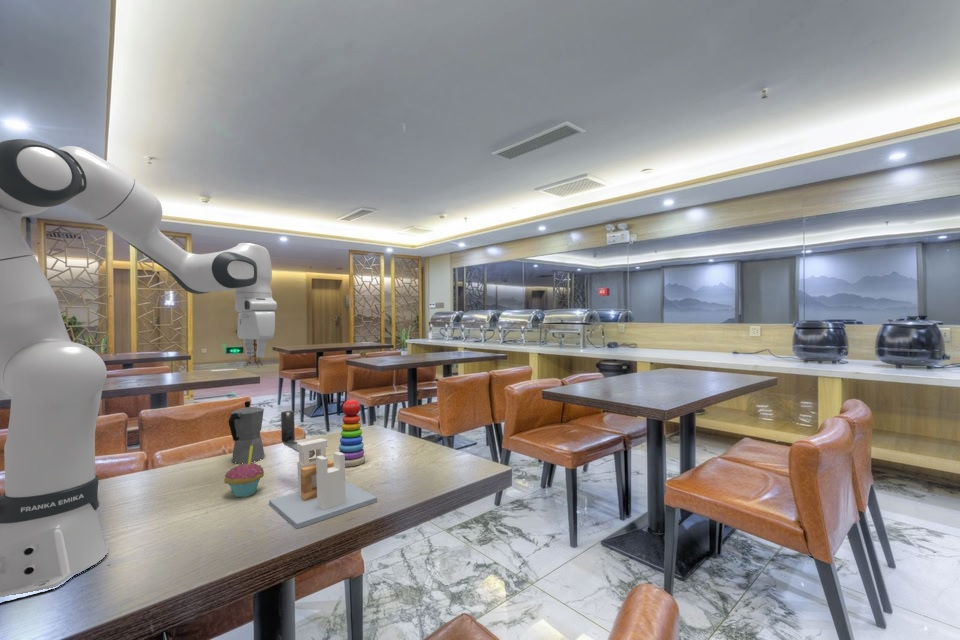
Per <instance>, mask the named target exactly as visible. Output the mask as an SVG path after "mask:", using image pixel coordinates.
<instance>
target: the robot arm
mask: <svg viewBox="0 0 960 640" xmlns="http://www.w3.org/2000/svg"><path fill="white" fill-rule="evenodd" d="M62 204H65V205H68V206H70V207H72V208H74V209H76V210H78V211H79V212H81V213H83V214H84V215H86V216H87V217H89V218H90V219H91V220H94V221H95V222H97V223H99V224H100V225H102V226H103V227H104V228H107V230H109V231H111V232H113V233H115V235H118V237H120V238H121V239H122V240H123V241H125V242H126V243H127V244H128V245H130V246H131V247H133V249H135V250H137V251H138V252H140V253H141V254H142V255H144V256H145V257H147V259H150V260H151V261H152V262H153V263H155V264H157V265H158V266H160V267H161V268H162V269H163V270H165V271H167V273H169V274H170V275H171V277H173V279H174V280H175V281H176V282H177V284H178V285H179V286H180V288H182V289H183V290H185V291H186V292H189V293H191V294H193V295H194V294H195V295H203V294H208V293H214V292H222V291H223V292H224V291H231V290H234V300H235V301H234V304H235V306H234V308H235V309H234V310H235V312H239V313H238V315H237V332H236V333H237V337H238V339H239V340H243V347H244V349H245V352H244V353H245V356H247V357H254V355H255V356H256V357H257V358H265V356H266V348H267V344H268V340H272V339H274V335H275V333H276V312H275V311H277V310H278V303H277V301H276V300H274V298H273V291H272V287H271V283H272V278H273V269H272V267H273V266H272V260H271V259H272V258H271V256H270V253H269V250H268V249H267V248H266V247H265V246H264V245H261V244H258V243H254V242H245V241H243V242H240V243H238V244H237V245H235V246H234V247H231V248H228V249H225V250H222V251H216V252H210V253H202V254H200V253H193V252H189V251H186V250H184V249H183V248H182V247H181V246H180V245H178V244H176V243H175V242H174V241H173V240H172V239H170V238H169V237H167V235H165V234H164V233H162V231H161V230H160V229H159V225H160V224H161V222H162V219H163V208H162V204H161V202H160V200H159V199H158V198H157V196H155V194H153V193H152V192H151V190H149V189H148V188H147V187H145V186H144V185H143V183H140V182H139V181H137V180H136V179H135V178H133V177H132V176H131V175H129V174H127V173H126V172H125V171H123V170H122V169H120V168H118V167H117V166H115V165H114V164H112V163H111V162H109V161H107V160H105V159H104V158H102V157H101V156H98V155H97V154H95V153H92V152H91V151H89V150H88V149H87V150H86V149H85V148H83V147H80V146H75V145H66V146H61V147H58V148H57V147H55V146H53V145H51V144H48V143H45V142H42V141H40V140H39V141H37V140H34V139H26V138H24V139H23V138H17V139H15V138H14V139H7V140H3V141H0V390H1V391H2V392H3V393H5V394H6V395H8V396H9V397H10V409H9V410H10V412H9V419H8V420H9V421H8V428H7V434H6V440H5V443H4V447H3V451H4V452H3V453H4V455H3V457H4V493H1V492H0V597H5V596H9V595H16V594H23V593H28V592H33V591H39V590H43V589H49V588H53V587H56V586H58V585H59V584H61V583H62V582H64V581H65V580H67V579H68V578H69V577H70V576H72V575H73V574H75V573H77V572H79V571H81V570H83V569H85V568H86V567H89V566H91V565H93V564H95V563H96V562H98V561H99V560H101V559H102V558H103V557H105V555H106V554H107V553H108V554H109V552H108V549H109V547H108V545H107V543H106V541H105V539H104V534H103V531H102V528H101V523H100V518H99V512H98V511H99V510H98V509H99V507H100V503H101V489H100V488H101V486H100V481H99V476H98V474H96V430H97V422H98V416H99V411H100V406H101V400H102V394H103V388H104V385H105V383H106V381H107V377H108V376H107V375H108V371H107V366H106V364H105V362H104V360H103V359H102V358H101V356H100V355H99V354H98V353H97V352H95V350H93V349H92V348H90V347H88V346H86V345H84V344H81V343H79V342H75V341H72V340H71V338H70V334H69V333H68V330H67V328H66V325H65V323H64V319H63V316H62V313H61V310H60V306H59V299H58V297H57V295H56V293H55V291H54V290H53V288H52V286H51V284H50V282H49V280H48V279H47V277H46V274H45V273H44V271H43V270H42V267H41V265H40V264H39V262H38V260H37V258H36V256H35V255H34V252H33V251H32V250H31V249H32V248H31V247H30V246H29V244H28V243H27V241H26V239H25V238H24V235H23V232H22V224H21V222H22V218H23V217H26V216H29V217H30V216H34V215H38V214H40V213H43V212H45V211H48V210H50V209H51V208H54V207H57V206H60V205H62ZM254 340H256V350H255V349H254ZM108 554H107V555H108ZM105 558H106V557H105Z"/></svg>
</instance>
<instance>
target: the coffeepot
mask: <svg viewBox="0 0 960 640" xmlns="http://www.w3.org/2000/svg"><path fill="white" fill-rule="evenodd" d="M243 403H244V407H242V408H238V409H237V410H233V411H231V412H230V413H229V414H230V417H229V419H228V425H229V430H230V433H231V437H232V440H233V441H234V445H233V450H232V458H231V463H233V462H236V463H248V459H249V451H250V446H251V445H252V443H253V445H252V446H253V451H252V458H251V462H253V463H255V462H254V461H256V462H258V461H257V460H259V461H261V460H260V459H262V460H263V459H264V458H265V449H264V445H263V441H262V437H261V432H262V425H263V419H264V418H263V417H264V411H265V409H264V408H262V407H257V406H256V407H255V406H253V407H252V406H250V405H251V401H248V400H246V401H244V402H243Z"/></svg>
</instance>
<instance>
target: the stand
mask: <svg viewBox="0 0 960 640" xmlns="http://www.w3.org/2000/svg"><path fill="white" fill-rule="evenodd" d="M327 448H328V440H327V439H325V438H317V439H312V440H306V441H301V442H298V443H297V450H298V451H299V452H298V461H297V492H293V493H288V494H286V495H282V496H279V497H278V496H277V497H276V498H275V497H274V498H271V499H268V505H269V506H270V507H271V508H272V509H274V510H275V511H276V512H277V513H278V514H280V515H281V516H282V517H283V518H284V519H285V520H286V521H288V523H289V524H291V525H292V526H293V527H294V528H295V529H301V528H304V527H308V526H310V525H313V524H316V523H319V522H322V521H324V520H325V521H326V520H328V519H330V518H333V517H335V516H339V515H342V514H345V513H348V512H350V511H354V510H357V509H359V508H364V507H366V506H368V505H371V504H372V505H373V504H374V503H377V502H378V497H377V496H375V495H374V494H372V493H370V492H368V491H366V490H364V489H362V488H361V487H360V486H357V485H355V484H353V483H351V482H349V481H348V480H346V467H345V454H343V453H341V452H339V451H336V452H333V463H334V467H331V468H327V462H328V461H329V460H328V459H329V458H328V457H327V450H326V449H327ZM312 450H314V451H315V457H312V458H309V451H312ZM312 465H316V472H317V474H316V475H313V476H312V488H315V487H317V498H314V499H310V500H307V501H304V500H302V499H301V468H303V467H307V466H312Z"/></svg>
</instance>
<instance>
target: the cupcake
mask: <svg viewBox="0 0 960 640" xmlns="http://www.w3.org/2000/svg"><path fill="white" fill-rule="evenodd" d="M252 445H253V443H252ZM252 445H251V446H250V451H249V459H248V463H247V464H246V463H243V464H237V466H235V467H232V468H230V470H228V471H227V472H226V473H225V475H224V479H223V483H224V484H227V485H228V486H229V487H230V489H231V492H232V493H233V496H234V497H236V498H243V497H248V496H252V495H253V494H255V493H256V491H257V488H258V487H259V486H258V485H259V482H260V480H261V479H262V478H263V477H265V476H264V475H265V472H264V467H262V465H260V464H258V463H255V462H253V463H251V458H252V451H253V446H252Z"/></svg>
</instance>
